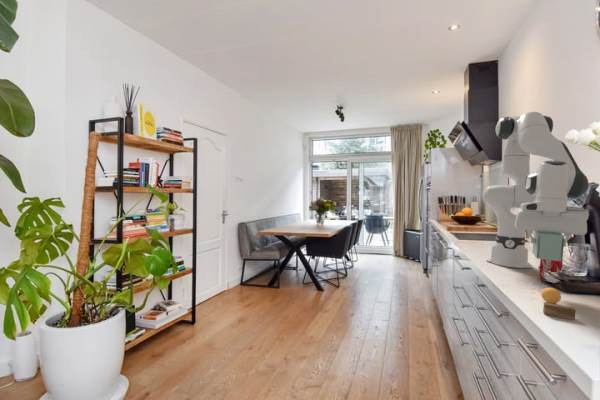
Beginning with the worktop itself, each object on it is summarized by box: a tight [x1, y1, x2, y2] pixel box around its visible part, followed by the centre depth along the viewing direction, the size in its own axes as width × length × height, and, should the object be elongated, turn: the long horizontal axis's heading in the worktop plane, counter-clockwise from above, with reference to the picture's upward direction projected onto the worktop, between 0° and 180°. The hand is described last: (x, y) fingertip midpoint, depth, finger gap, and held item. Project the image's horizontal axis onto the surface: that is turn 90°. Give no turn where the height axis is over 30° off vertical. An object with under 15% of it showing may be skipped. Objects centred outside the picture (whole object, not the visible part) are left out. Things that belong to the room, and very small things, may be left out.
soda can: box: [538, 258, 564, 282], centre depth 128 cm, size 7×7×12 cm
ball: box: [541, 287, 562, 304], centre depth 103 cm, size 5×5×5 cm
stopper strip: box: [542, 302, 577, 321], centre depth 93 cm, size 2×7×3 cm, turn 60°
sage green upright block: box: [531, 231, 565, 261], centre depth 114 cm, size 11×7×9 cm, turn 150°
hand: (547, 244), depth 113 cm, fingers closed on sage green upright block, 7 cm apart
